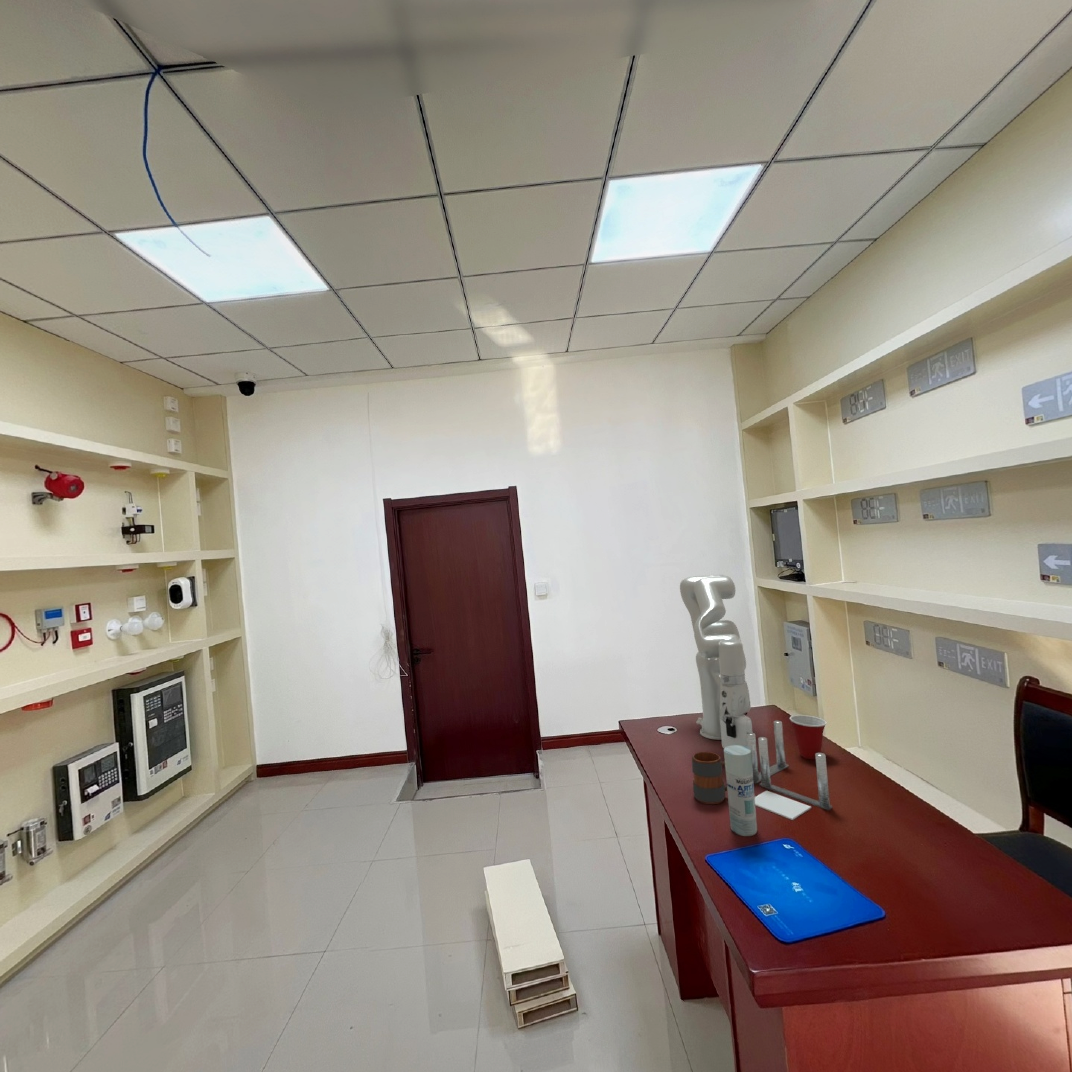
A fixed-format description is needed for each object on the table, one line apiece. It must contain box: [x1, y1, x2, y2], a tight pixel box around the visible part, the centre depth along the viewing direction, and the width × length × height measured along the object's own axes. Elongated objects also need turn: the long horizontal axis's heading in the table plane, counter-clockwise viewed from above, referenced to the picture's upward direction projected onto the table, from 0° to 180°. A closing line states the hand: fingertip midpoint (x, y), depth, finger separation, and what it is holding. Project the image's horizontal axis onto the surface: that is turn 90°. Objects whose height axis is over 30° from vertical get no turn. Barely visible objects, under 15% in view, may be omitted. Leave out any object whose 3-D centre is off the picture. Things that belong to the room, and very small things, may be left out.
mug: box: [691, 751, 728, 805], centre depth 155 cm, size 9×12×12 cm
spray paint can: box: [723, 745, 758, 837], centre depth 138 cm, size 6×6×20 cm
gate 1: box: [747, 720, 789, 784], centre depth 168 cm, size 3×17×14 cm, turn 124°
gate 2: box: [757, 736, 833, 811], centre depth 152 cm, size 20×2×14 cm, turn 34°
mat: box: [755, 790, 812, 821], centre depth 148 cm, size 13×9×1 cm
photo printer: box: [720, 714, 753, 749], centre depth 177 cm, size 10×4×12 cm, turn 39°
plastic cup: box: [789, 714, 827, 760], centre depth 178 cm, size 11×11×12 cm
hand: (736, 733), depth 177 cm, fingers closed on photo printer, 4 cm apart
